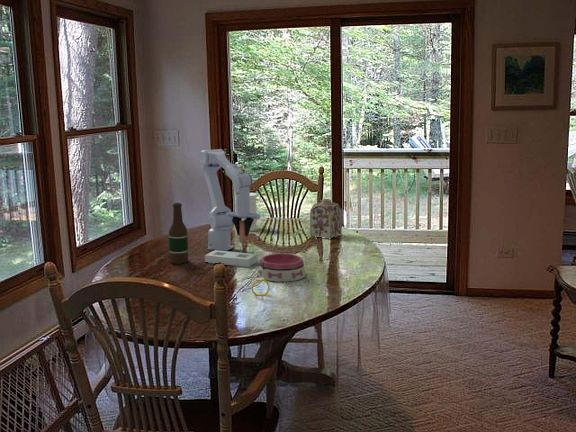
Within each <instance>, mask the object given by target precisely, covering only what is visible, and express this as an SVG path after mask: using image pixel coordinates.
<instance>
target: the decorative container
mask: <svg viewBox="0 0 576 432" xmlns="http://www.w3.org/2000/svg"><path fill="white" fill-rule="evenodd" d="M257 198H258V194H257V193H256V192H250V213H254V214H257V210H258V209H257V204H258V203H257ZM245 219H246V218H242V220H245ZM257 221H258V220H256V219H254V221H253V223H252V225H251V227H250V231H249V233H250V232H255V231H258V230H259V226H258V225H257ZM234 228H235V227H234ZM234 231H236V228H235V229H234Z"/></svg>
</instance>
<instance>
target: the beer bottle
mask: <svg viewBox="0 0 576 432" xmlns="http://www.w3.org/2000/svg"><path fill="white" fill-rule="evenodd" d="M182 206H183V205H182V203H181V202H175V203H172V207H173V209H172V210H173V211H172V224H171V226H170V227H169V230H168V250H169V251H168V254H169V257H168V258H169V262H170V264H173V265H182V263H183V264H187V263H188V261H189V242H188V241H189V240H188V239H189V238H188V236H189V235H188V228H187V226H186V225H185V224H184V222H183V213H182V212H183V211H182ZM186 262H187V263H186Z"/></svg>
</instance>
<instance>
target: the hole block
mask: <svg viewBox="0 0 576 432" xmlns="http://www.w3.org/2000/svg"><path fill="white" fill-rule="evenodd" d="M205 262H208V264H215V263H219V262H221V263H222V264H221V265H227V266H234V267H243V268H245V267H247V268H249V267H250V266H252V265H254V264H255V263H257V262H258V254H257V253H249V252H248V253H247V252H237V251H229V250H228V251H222V250H212V251H211V252H209V253H207V254H205V255H204V263H205ZM223 263H224V264H223Z"/></svg>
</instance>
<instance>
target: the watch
mask: <svg viewBox="0 0 576 432" xmlns="http://www.w3.org/2000/svg"><path fill="white" fill-rule="evenodd" d="M257 282H260V283H261V282H264V283H266V285H267V290H266V291H265V292H264V293H257V292H255V290H254V285H255V284H256V283H257ZM251 291H252V294H253V295H254V296H257V297H259V296H261V297H264V296H266V295H267V294H268V293H269V291H270V284H269V282H268V281H266V280H264V278H262V277H260V278H258V277H256V278H255V280H254V281H253V282H252V284H251Z"/></svg>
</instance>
